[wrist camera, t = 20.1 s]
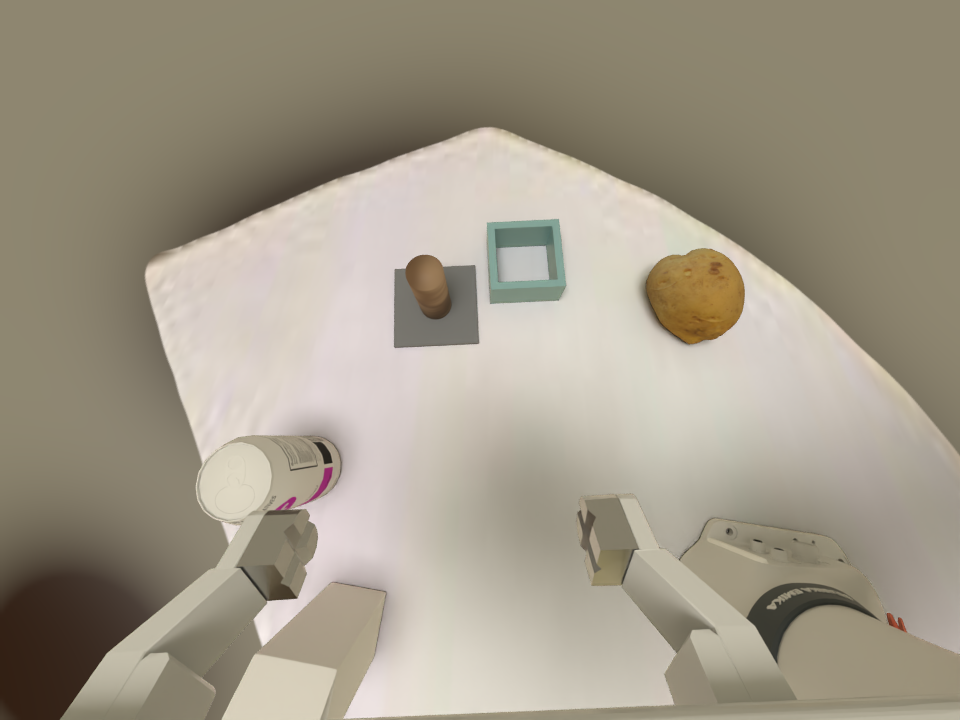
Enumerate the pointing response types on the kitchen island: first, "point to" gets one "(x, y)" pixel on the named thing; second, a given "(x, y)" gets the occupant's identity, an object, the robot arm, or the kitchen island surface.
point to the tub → (518, 237)
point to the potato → (696, 294)
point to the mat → (437, 332)
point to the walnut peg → (429, 286)
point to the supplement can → (265, 475)
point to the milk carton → (313, 659)
